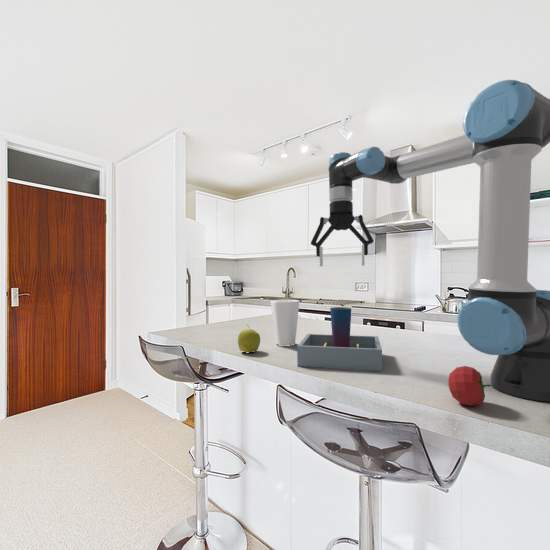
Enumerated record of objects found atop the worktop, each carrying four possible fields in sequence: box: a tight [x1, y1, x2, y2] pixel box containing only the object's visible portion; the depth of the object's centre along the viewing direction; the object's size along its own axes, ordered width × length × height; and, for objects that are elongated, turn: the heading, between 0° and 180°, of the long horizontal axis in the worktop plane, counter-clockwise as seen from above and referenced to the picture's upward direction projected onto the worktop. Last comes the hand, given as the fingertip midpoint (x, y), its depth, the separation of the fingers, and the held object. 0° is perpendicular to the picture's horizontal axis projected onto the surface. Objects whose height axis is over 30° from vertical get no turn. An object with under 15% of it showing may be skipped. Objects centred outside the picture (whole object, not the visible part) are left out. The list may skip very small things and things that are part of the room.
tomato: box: [447, 365, 492, 407], centre depth 68 cm, size 8×8×8 cm
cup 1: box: [270, 299, 300, 346], centre depth 127 cm, size 11×10×17 cm
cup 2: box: [329, 306, 352, 347], centre depth 108 cm, size 7×7×15 cm
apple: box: [237, 324, 261, 352], centre depth 116 cm, size 8×8×10 cm
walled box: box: [296, 333, 383, 372], centre depth 104 cm, size 20×24×6 cm
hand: (341, 266), depth 109 cm, fingers open, 13 cm apart
